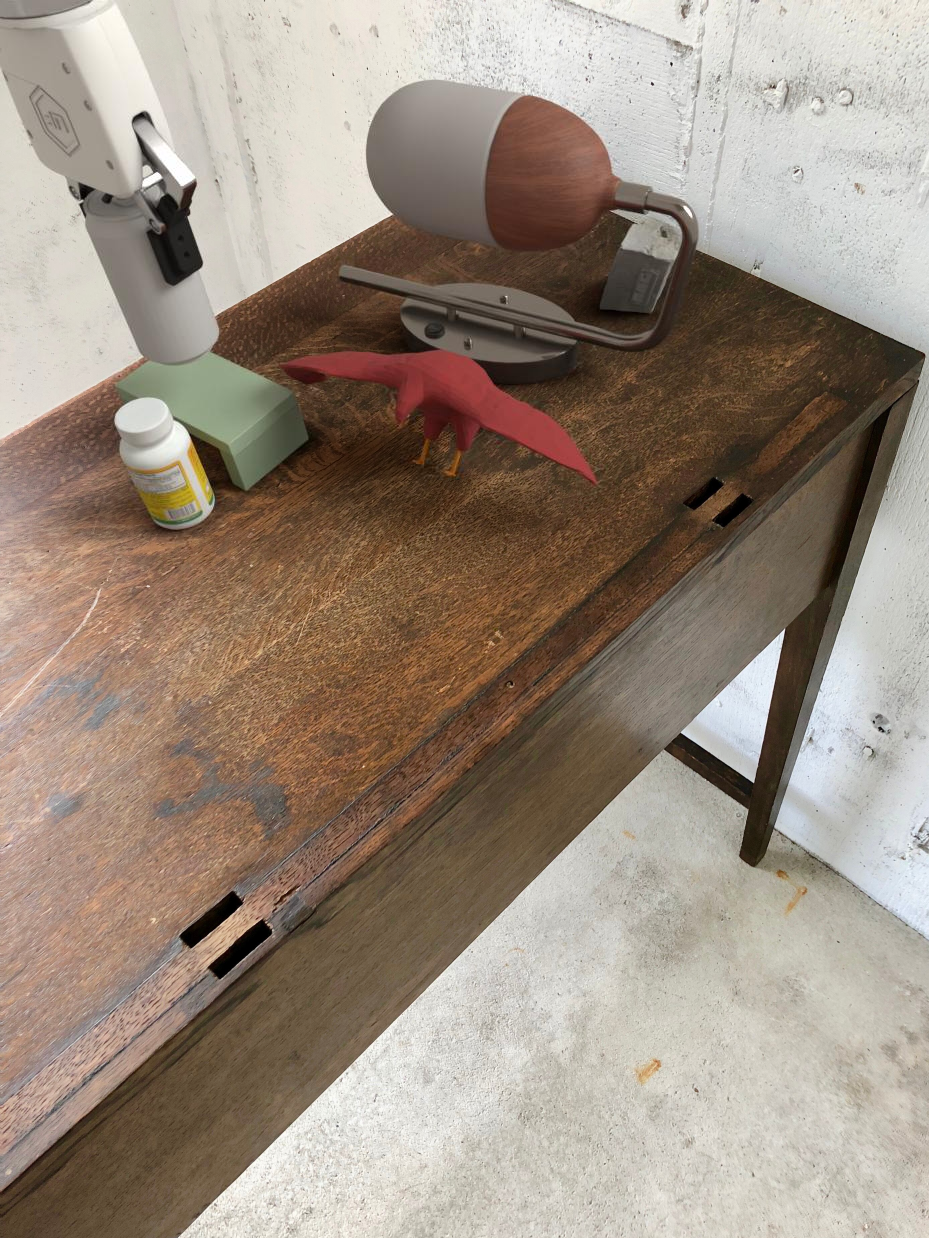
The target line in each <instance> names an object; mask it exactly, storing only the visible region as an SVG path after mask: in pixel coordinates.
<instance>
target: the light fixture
mask: <svg viewBox="0 0 929 1238" xmlns="http://www.w3.org/2000/svg"><path fill="white" fill-rule="evenodd" d="M365 144H366V145H365V163H366V169H367V175H368V178H369V181H370V183H371V186H372V188H373V190H374V192H375V193H376V196H377V197H378V199H379V200H380V201H381V203H382V204H383V206H384V207H385V208H386V209H387V210H388V211H389V212H390V213H391V214H392V215H393V216H394V217H396V218H397V219H398V220H399V221H401V222H403V223H404V224H406V225H407V226H410V227H412V228H414V229H416V230H419V231H422V232H425V233H429V234H434V235H438V236H442V237H447V238H451V239H455V240H460V241H464V242H469V243H474V244H478V245H483V246H485V247H486V246H487V247H490V248H491V247H492V248H496V249H504V250H507V251H511V252H542V251H543V252H544V251H550V250H556V249H560V248H563V247H566V246H568V245H569V246H570V245H571V244H574V243H576V242H578V241H580V240H582V239H583V238H584V237H586V236H587V235H589V233H590V232H592V231H593V230H594V229H595V228H596V226H597V225H598V224H599V222H600V221H601V219H602V218H603V216H604V214H605V213H606V212H611V211H617V210H618V211H623V212H629V213H634V214H638V215H644V216H646V215H648V214H649V212H653V213H656V214H660V215H664V216H668V217H671V218H672V219H673V220H675V221H676V223H677V224H678V226H679V228H680V232H681V233H682V242H681V245H680V249H679V252H678V255H677V258H676V260H675V261H674V264H673V270H672V272H671V276H670V280H669V282H668V286H667V288H666V292H665V295H664V298H663V301H662V305H661V308H660V310H659V313H658V316H657V319H656V321H655V323H654V324H653V325H652V326H651V327H650V328H648V329H647V330H645V331H643V332H639V333H621V332H617V331H613V330H609V329H606V328H601V327H597V326H595V325H591V324H588V323H587V324H586V323H583V322H579V321H575V319H574V317H572V315H570V314H569V313H568V312H567V311H566V310H565V309H563V308H562V307H560V306H559V305H557V304H556V303H554V302H553V301H550V300H548V299H546V298H543V297H541V296H538V295H536V294H533V293H530V292H527V291H524V290H521V289H517V288H512V287H509V286H502V285H497V284H496V285H495V284H488V283H477V282H455V283H447V284H438V285H434V286H432V285H428V284H425V283H419V282H416V281H412V280H408V279H405V278H401V277H395V276H392V275H388V274H384V273H380V272H375V271H372V270H367V269H362V268H359V267H355V266H350V265H347V264H342V265H341V266H340V268H339V270H338V278H339V281H340V282H343V283H347V284H350V285H354V286H358V287H363V288H367V289H371V290H375V291H378V292H382V293H386V294H390V295H394V296H397V297H402V298H406V299H405V301H403V303H402V305H401V307H400V312H399V313H400V314H399V316H400V321H401V325H402V326H401V327H402V333H403V337H404V342H405V343H406V345H407V347H408V348H409V350H410V351H412V353H421V352H427V351H433V350H446V351H451V352H455V353H457V354H460V355H462V356H468V357H470V358H471V359H472V360H474V361H475V362H476V363H477V364H478V365H479V366H481V367H482V368H483V369H484V370H485V372H486V373H487V375H488V377H489V378H490V379H491V381H492V382H493V384H502V385H525V384H526V385H527V384H535V383H542V382H543V383H544V382H546V381H551V380H554V379H556V378H559V377H561V376H563V375H566V374H567V373H569V372H570V371H571V370H573V368H574V367H575V366H576V365H577V363H578V362H579V358H580V343H585V344H590V345H594V346H597V347H602V348H606V349H610V350H615V351H620V352H623V353H624V352H625V353H641V352H646V351H650V350H651V349H654V348H656V347H657V346H659V345H660V344H661V343H663V341H664V340H665V339H666V338H667V337H668V335H669V334H670V332H671V331H672V329H673V327H674V324H675V321H676V319H677V315H678V311H679V308H680V306H681V302H682V299H683V295H684V292H685V290H686V289H685V288H686V285H687V282H688V278H689V276H690V271H691V268H692V266H693V261H694V258H695V254H696V250H697V246H698V242H699V237H700V236H699V235H700V234H699V233H700V232H699V231H700V230H699V221H698V217H697V215H696V213H695V211H694V209H693V208H692V206H690V204H689V203H687V202H686V201H685V200H683V199H681V198H679V197H675V196H672V195H668V194H665V193H661V192H660V193H659V192H656V191H654V188H653V186H651V185H645V184H641V183H635V182H630V181H624V180H623V179H622V178H621V177H618V176H617V175H615V174H614V173H613V168H612V161H611V158H610V154H609V151H608V149H607V147H606V145H605V143H604V142H603V140H602V138H601V137H600V136H599V134H598V133H597V132H596V131H595V130H594V129H593V128H592V127H591V126H590V125H589V123H587V122H586V121H585V120H584V119H582V118H581V117H580V116H578V115H577V114H576V113H574V112H572V111H571V110H569V109H568V108H565V107H563V106H561V105H560V104H557V103H556V102H553V101H550V100H548V99H545V98H542V97H539V96H535V95H530V94H525V93H522V92H516V91H512V90H511V91H510V90H504V89H498V88H493V87H486V86H480V85H475V84H470V83H469V84H468V83H463V82H457V81H451V80H445V79H424V80H418V81H414V82H412V83H408V84H406V85H404V86H402V87H400V88H398V89H397V90H395V91H394V92H393V93H391V94H390V95H389V96H388V97H387V98H386V99H385V100H384V101H383V102H382V103H381V104H380V106H378V109H377V110H376V112H375V113H374V115H373V118H372V120H371V123H370V125H369V127H368V131H367V137H366V143H365Z"/></svg>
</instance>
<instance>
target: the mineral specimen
mask: <svg viewBox="0 0 929 1238" xmlns="http://www.w3.org/2000/svg"><path fill="white" fill-rule="evenodd" d="M681 242H682V231H681V230H680V231H679V229H678V228H677V227H676V226H673V225H671V224H670V223H668V222H666V221H664V220H662V219H659V218H657V217H655V216H652V215H651V216H648V217H647V218H644V220H641V221H640V222H639V223H633V224H632V225H631V226H630V227H629V228H628V231H627V232H626V234H625V237H624V238H623V240H622V242H621V243H620V245H619V247H618V251H617V252H616V253H615V257H614V260H613V263H612V264H611V267H610V269H609V273H608V275H607V280H606V282H605V286H604V290H603V294H602V296H601V300H600V304H599V309H600V310H612V311H620V312H632V313H633V312H634V313H641V314H642V313H644V314H652V313H653V311H654V309H655V307H656V304H657V302H658V300H659V298H660V297H661V295H662V293H663V290H664V287H665V286H666V283H667V279H668V277H669V276H670V274H671V271H672V268H673V267H674V265H675V262H676V259H677V255H678V252H679V249H680V245H681Z"/></svg>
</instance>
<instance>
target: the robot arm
mask: <svg viewBox="0 0 929 1238" xmlns="http://www.w3.org/2000/svg"><path fill="white" fill-rule="evenodd" d="M138 48H139V47H138V46H137V44H136V41H135V39H134V37H133V35H132V33H131V30H130V28H129V26H128V23H127V22H126V20H125V19H124V16H123V15H122V12H121V10H120V8H119V6H118V4H117V1H116V0H0V69H1V73H2V75H3V78H4V81H5V83H6V85H7V89H8V91H9V93H10V95H11V98H12V101H13V104H14V106H15V108H16V111H17V113H18V116H19V118H20V120H21V123H22V125H23V127H24V130H25V132H26V135H27V137H28V140H29V141H30V144H31V146H32V148H33V150H34V153H35V154H36V156H37V157H36V158H38V160H39V161H40V163H41V164H42V165H44V166H45V167H46V168H47V169H49V170H50V171H52V172H54V173H56V174H59V175H60V176H63V177H65V179H66V184H67V185H66V186H67V188H68V191H69V193H70V195H71V196H72V197H73V199H75V201H77V202H80V203H78V206H79V208H80V211H81V213H82V216H83V217H84V220H86V215H87V214H86V213H85V211H84V208H83V202H84V200H85V198H86V197H87V196H88V195H89V194H90V193H91V192H92V191H94V190H95V189H97V190H100V191H102V192H105V193H108V194H110V195H113V196H116V197H119V198H125V199H126V198H130V197H132V198H133V200H134V201H135V203H136V205H137V206H138V208H139V210H140V211H141V213H142V214H143V216H144V218H145V219H146V221H147V222H148V224H149V226H150V227H151V230H149V231H147V232H146V233H147V236H148V239H149V241H150V244H151V246H152V249H153V251H154V254H155V256H156V259H157V261H158V264H159V267H160V269H161V272H162V274H163V277H164V279H165V282H166V283H168V284H170V285H172V286H175V285H177V284H178V283H180V282H181V281H183V280H184V279H186V278H187V277H189V276H190V275H192V274H193V273H195V272H196V271H198V270H199V271H200V269H202V268H203V266H204V260H203V258H202V254H201V251H200V248H199V246H198V243H197V241H196V237H195V234H194V231H193V228H192V226H191V223H190V220H189V217H190V216H191V208H190V207H191V205H192V203H193V196H194V194H195V191H196V189H197V186H198V182H197V178H196V176H195V175H194V174H193V173H192V172H191V170H190V169H189V168H188V167H187V166H186V164H185V163H184V162H183V161H182V159H181V158H180V157H179V156H178V155H177V152H176V148H175V143H174V141H173V140H174V139H173V136H172V133H171V130H170V127H169V125H168V122H167V119H166V116H165V113H164V110H163V107H162V104H161V102H160V100H159V97H158V94H157V92H156V90H155V86H154V84H153V82H152V80H151V77H150V75H149V72H148V69H147V68H146V64H145V62H144V60H143V57H142V56H141V55H142V54H141V52H140V51H139V49H138ZM145 166H148V167H149V168H150V169H151V173H149V174H148V175H146V176H144V174H143V173H144V171H143V170H144V169H143V167H145ZM143 177H144V178H143ZM157 183H158V185H159V187H160V188H161V190H162V192H163V193H164V196H162V197H161V198H160V201H159V203H158V206H157V208H156V207H155V205H154V204H153V202H152V200H151V199H150V197H149V195H148V194H147V192H146V190H147V189H149V188H151V187H152V186H154V185H156V184H157ZM104 203H106V204H107V202H104Z"/></svg>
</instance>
